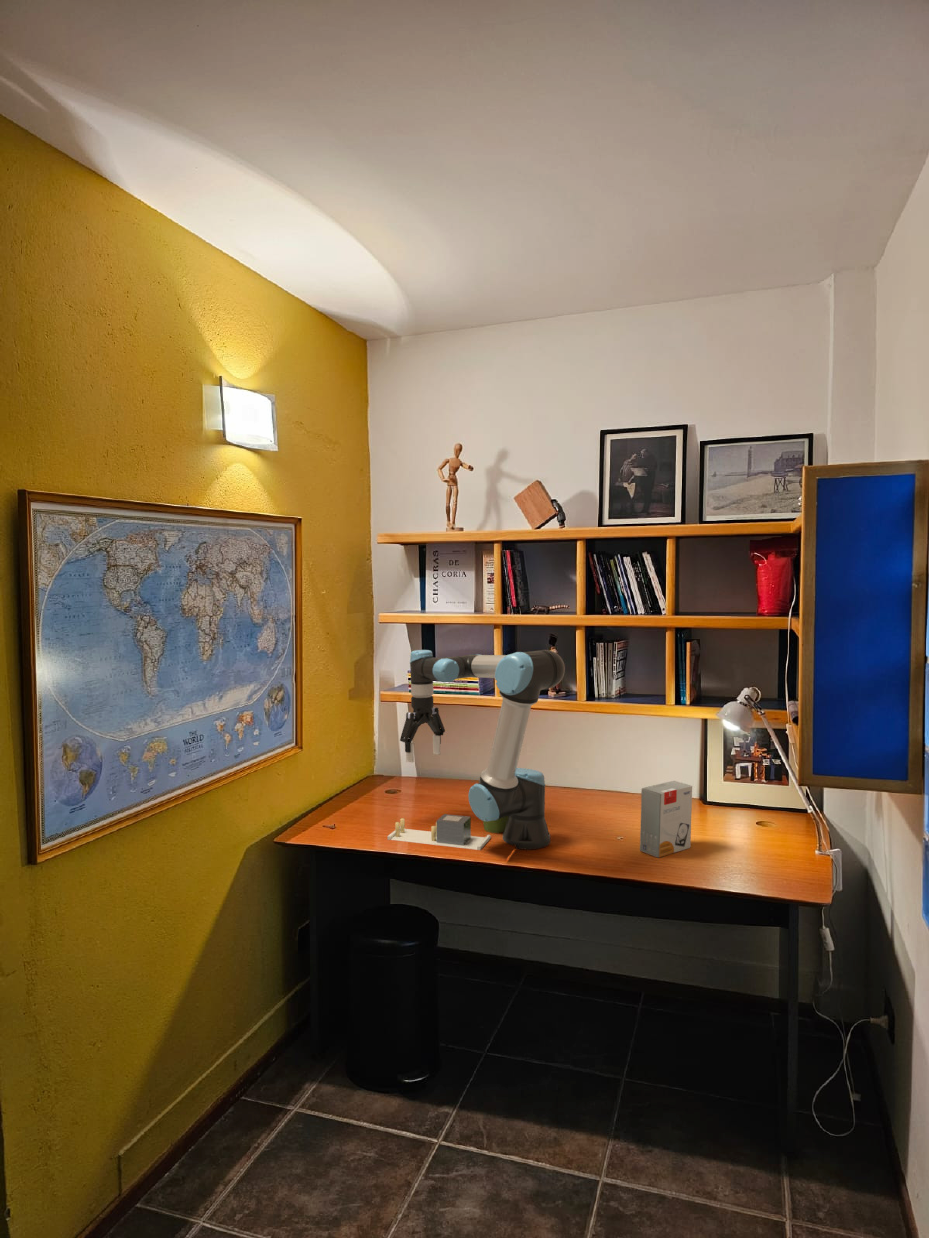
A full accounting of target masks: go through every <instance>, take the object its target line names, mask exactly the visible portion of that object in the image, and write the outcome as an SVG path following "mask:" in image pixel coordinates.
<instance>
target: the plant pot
mask: <svg viewBox="0 0 929 1238" xmlns="http://www.w3.org/2000/svg"><path fill="white" fill-rule="evenodd" d="M507 819H508V816H506V817H503V818H500V819H498V820H495V821H494V820H492V821H483V820H482V824H483V829H484V831H485V832H487V833H493V834H498V833H503V832H504V830H505V827H506V823H507Z"/></svg>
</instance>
